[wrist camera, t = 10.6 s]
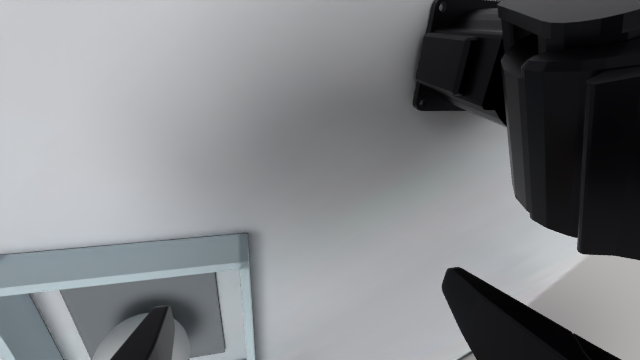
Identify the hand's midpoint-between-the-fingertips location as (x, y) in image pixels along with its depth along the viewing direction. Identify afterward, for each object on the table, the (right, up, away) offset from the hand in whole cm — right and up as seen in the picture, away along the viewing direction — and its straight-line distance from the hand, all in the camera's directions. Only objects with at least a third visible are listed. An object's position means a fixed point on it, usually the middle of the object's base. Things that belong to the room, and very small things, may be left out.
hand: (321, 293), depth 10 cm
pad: (-13, -7, +14) cm, 21 cm away
